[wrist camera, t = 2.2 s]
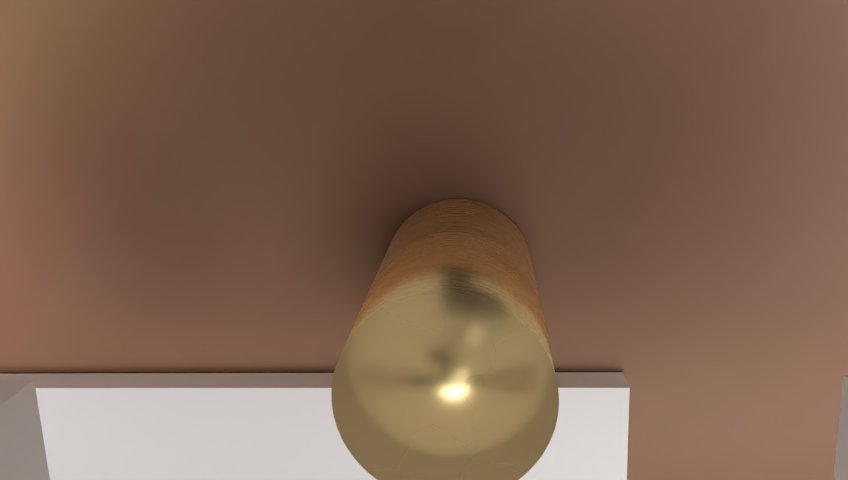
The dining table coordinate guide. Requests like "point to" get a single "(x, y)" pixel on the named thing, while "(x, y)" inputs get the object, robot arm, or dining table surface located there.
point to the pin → (449, 354)
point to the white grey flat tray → (273, 427)
